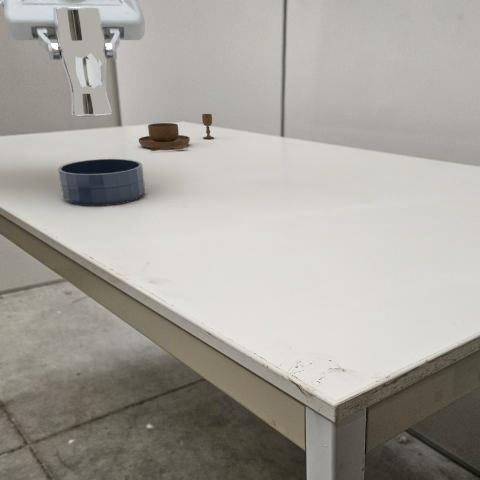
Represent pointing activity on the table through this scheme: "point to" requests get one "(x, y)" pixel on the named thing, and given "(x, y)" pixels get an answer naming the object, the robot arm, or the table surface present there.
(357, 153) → the table surface
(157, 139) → the place setting
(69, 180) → the bowl
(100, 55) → the beer glass
